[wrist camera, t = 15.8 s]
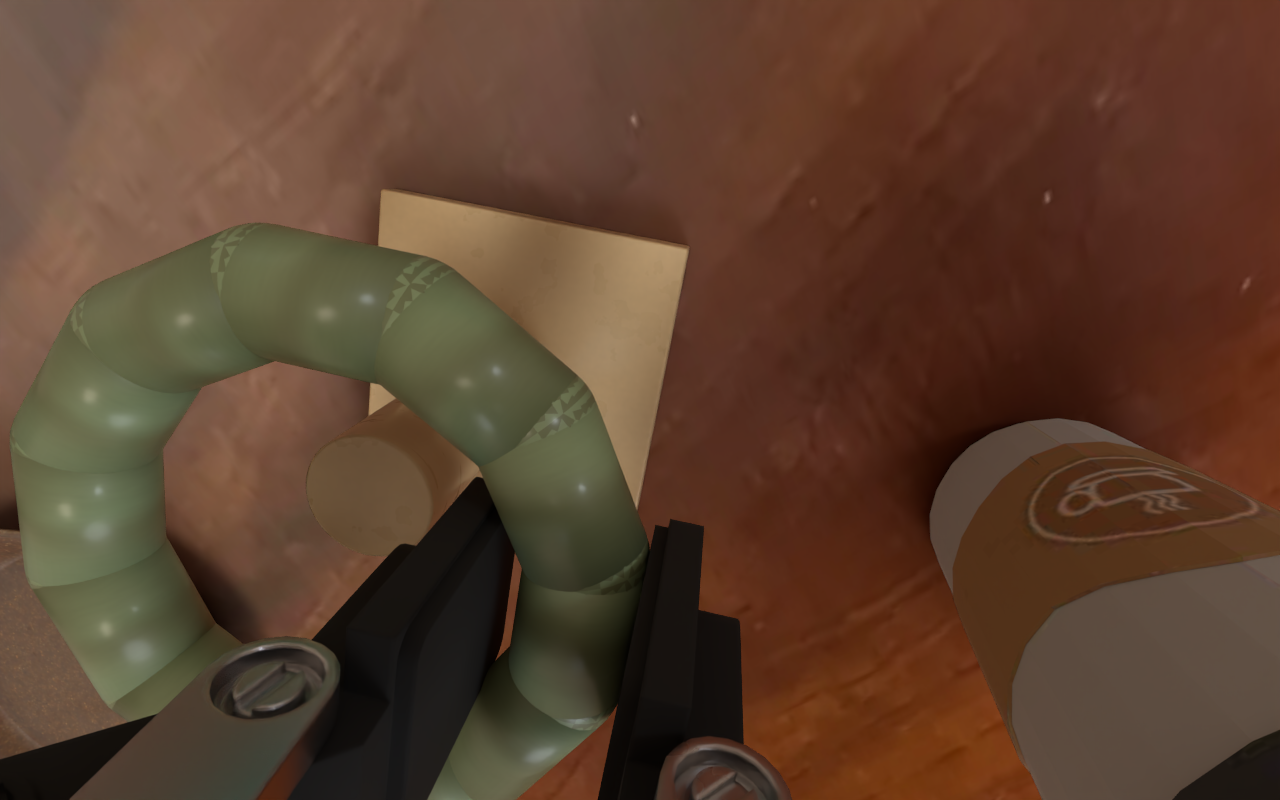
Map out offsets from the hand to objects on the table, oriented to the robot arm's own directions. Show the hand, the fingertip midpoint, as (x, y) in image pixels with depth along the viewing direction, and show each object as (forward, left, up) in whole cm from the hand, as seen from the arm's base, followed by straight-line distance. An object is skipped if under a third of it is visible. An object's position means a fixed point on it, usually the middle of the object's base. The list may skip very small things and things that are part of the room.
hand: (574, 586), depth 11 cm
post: (+4, 0, -11) cm, 12 cm away
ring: (+4, 0, +1) cm, 4 cm away
